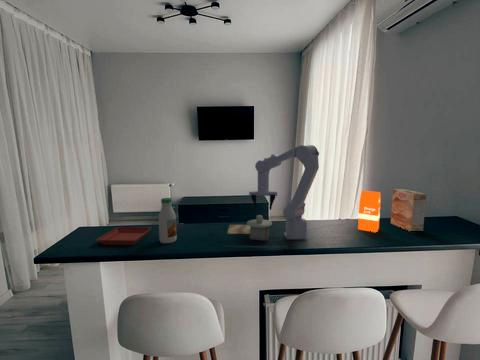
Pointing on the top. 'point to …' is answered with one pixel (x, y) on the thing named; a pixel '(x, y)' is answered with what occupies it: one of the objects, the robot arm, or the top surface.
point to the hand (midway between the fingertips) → (263, 209)
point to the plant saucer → (124, 236)
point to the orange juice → (369, 211)
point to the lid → (259, 222)
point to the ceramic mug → (259, 233)
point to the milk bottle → (167, 222)
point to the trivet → (239, 229)
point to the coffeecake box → (408, 209)
